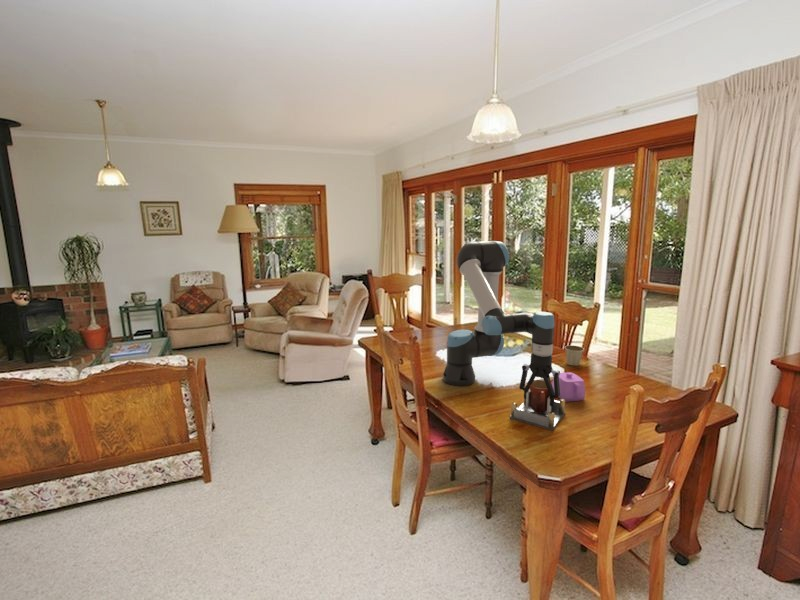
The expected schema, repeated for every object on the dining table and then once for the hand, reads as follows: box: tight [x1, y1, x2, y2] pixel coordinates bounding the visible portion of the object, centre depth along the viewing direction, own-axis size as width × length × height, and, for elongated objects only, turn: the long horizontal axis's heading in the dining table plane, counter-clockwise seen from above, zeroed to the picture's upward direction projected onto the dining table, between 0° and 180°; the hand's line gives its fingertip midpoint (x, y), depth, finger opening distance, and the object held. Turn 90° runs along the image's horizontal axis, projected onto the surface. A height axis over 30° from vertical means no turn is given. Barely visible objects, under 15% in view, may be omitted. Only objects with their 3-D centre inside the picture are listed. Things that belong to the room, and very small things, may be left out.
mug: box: [529, 379, 553, 412], centre depth 157 cm, size 12×9×10 cm
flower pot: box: [564, 344, 585, 367], centre depth 213 cm, size 9×9×9 cm
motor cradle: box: [509, 398, 566, 431], centre depth 158 cm, size 16×16×6 cm
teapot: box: [551, 371, 586, 402], centre depth 176 cm, size 18×10×10 cm, turn 8°
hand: (538, 409), depth 159 cm, fingers closed on mug, 7 cm apart
